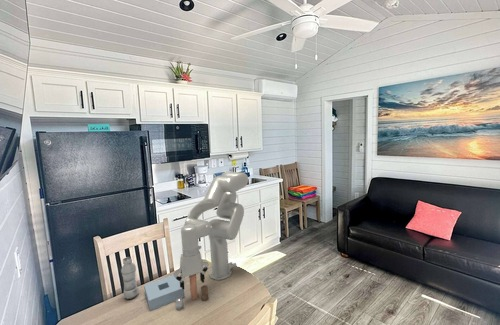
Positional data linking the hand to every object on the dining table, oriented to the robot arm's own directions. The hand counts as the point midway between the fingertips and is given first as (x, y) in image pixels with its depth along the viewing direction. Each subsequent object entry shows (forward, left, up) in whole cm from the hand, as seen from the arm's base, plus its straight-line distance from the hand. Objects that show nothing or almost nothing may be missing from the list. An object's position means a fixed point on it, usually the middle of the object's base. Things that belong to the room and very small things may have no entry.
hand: (192, 284), depth 119 cm
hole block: (+12, -10, -7) cm, 17 cm away
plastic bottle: (+26, -19, -7) cm, 33 cm away
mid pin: (-4, +4, -7) cm, 9 cm away
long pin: (0, 0, -7) cm, 7 cm away
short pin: (+8, +3, -7) cm, 11 cm away
